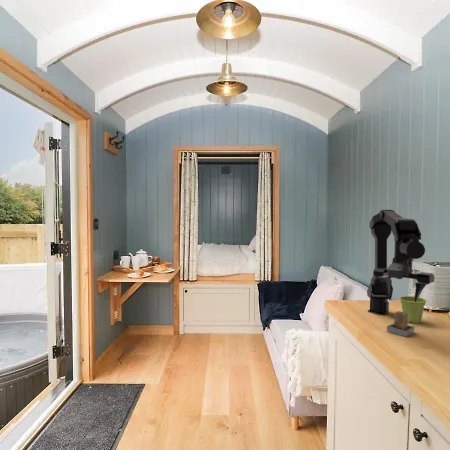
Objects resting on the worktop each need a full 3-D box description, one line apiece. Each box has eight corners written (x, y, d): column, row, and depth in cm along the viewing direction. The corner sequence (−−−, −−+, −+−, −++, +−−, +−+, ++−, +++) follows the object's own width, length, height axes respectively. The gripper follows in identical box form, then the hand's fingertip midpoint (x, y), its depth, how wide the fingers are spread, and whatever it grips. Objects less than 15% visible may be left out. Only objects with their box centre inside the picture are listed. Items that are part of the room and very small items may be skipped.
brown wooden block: (394, 332, 126) (394, 312, 126) (397, 330, 129) (398, 311, 128) (403, 334, 124) (404, 314, 124) (406, 332, 126) (407, 313, 126)
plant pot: (410, 325, 134) (411, 302, 134) (393, 318, 143) (394, 296, 143) (431, 324, 136) (432, 301, 136) (413, 316, 145) (414, 295, 145)
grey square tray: (386, 332, 127) (387, 326, 126) (394, 327, 131) (394, 322, 131) (407, 337, 122) (407, 331, 122) (414, 332, 126) (414, 327, 126)
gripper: (367, 254, 126) (365, 297, 127) (424, 260, 113) (422, 308, 114) (380, 251, 134) (379, 292, 135) (435, 257, 121) (434, 302, 121)
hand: (401, 299), depth 126 cm, fingers open, 9 cm apart
